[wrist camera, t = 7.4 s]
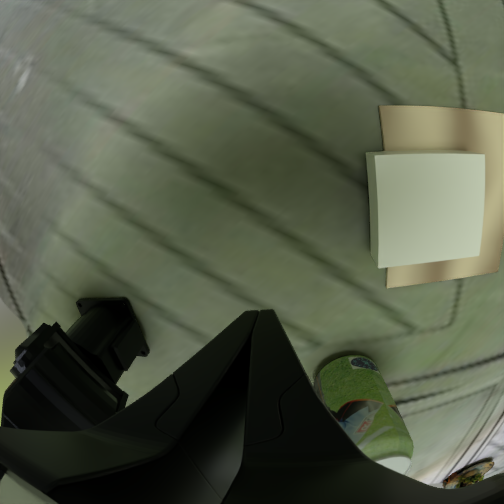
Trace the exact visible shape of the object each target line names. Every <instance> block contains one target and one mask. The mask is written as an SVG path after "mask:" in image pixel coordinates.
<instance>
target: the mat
mask: <svg viewBox="0 0 504 504" xmlns="http://www.w3.org/2000/svg"><path fill="white" fill-rule="evenodd" d="M378 107H379V114H380V122H381V130H382V139H383V149H384V151H409V150H461V151H472V152H476V153H481V154H485V200H484V216H483V228H482V238H481V246H480V254H479V256H475V257H467V258H460V259H452V260H445V261H437V262H429V263H420V264H412V265H403V266H395V267H387V270H386V288H392V287H400V286H408V285H416V284H423V283H430V282H437V281H444V280H450V279H457V278H463V277H469V276H476V275H482V274H487V273H493V272H498V268H499V262H500V257H501V250H502V244H503V236H504V114H502V113H495V112H488V111H480V110H471V109H460V108H448V107H432V106H378Z"/></svg>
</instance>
